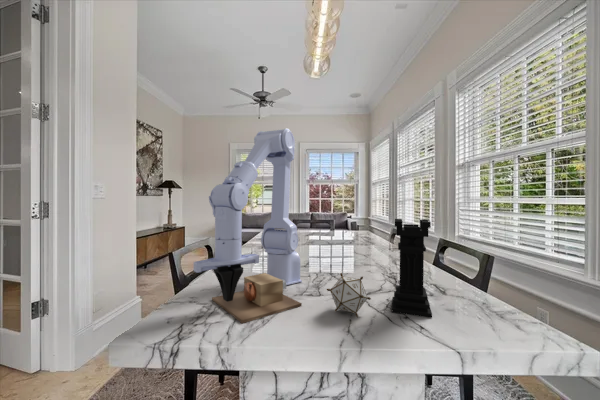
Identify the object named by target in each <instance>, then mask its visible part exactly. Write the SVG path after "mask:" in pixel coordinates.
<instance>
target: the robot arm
mask: <svg viewBox="0 0 600 400" xmlns="http://www.w3.org/2000/svg"><path fill="white" fill-rule="evenodd" d="M253 143H254V145H253V146H252V148H251V149H250V151H249V153H248V155H247V156H246V158H245V160H242V161H241V160H240V161H236V162H235V164H234V165H233V166H234V167H233V168H232V170H231V171H230V172H229V174H228V175H227V176H226V177H225V179H224V180H223V181H222V183H221V184H216V185H215V186H214V187H213V188H212V190H211V191H210V195H209V196H208V201H209V204H210V207H211V208H212V215H213V217H214V257H211V258H206V259H202V260H201V259H200V260H197V261H196V260H195V261H193V272H194V273H202V272H205V271H211V270H212V271H213V273H214V274H215V276H216V279H217V281H218V284H219V286H220V289H221V292H222V295H223V299H224V300H225V301H227V302H228V301H232V300H233V296H234V293H235V291H236V289H237V285H238V283H239V281H240V279H241V277H242V275H243V273H244V267H243V266H245V265H251V264H260V255H259V254H257V253H252V254H251V253H249V254H242V250H243V248H242V247H243V246H242V244H243V242H242V239H243V238H242V234H243V233H242V230H243V229H242V228H243V226H242V225H243V224H242V223H243V222H242V220H243V212H242V211H243V209H244V208H246V206H247V205H248V201H249V200H248V199H249V194H250V189H251V187H252V186H253V185H254V182H255V181H256V179H257V178H258V176H259V172H258V169H259V167H261V164H262V163H263V162H264V161H265V160H266V161H267V162H269V163H271V164H272V168H273V169H272V172H273V173H272V191H271V211H270V212H271V213H270V214H271V216H270V219H269V220H268V221H266V222H265V223H264V224H263V230H262V234H261V238H260V243H261V246H262V248H263V249H264V251H265V253H267V254H266V256H267V257H266V265H267V267H266V270H267V271H266V274H269V275H271V276H274V277H276V278H278V279H284V280H285V282H286V286H288V285H294V284H298V283H302V279H301V257H300V255H299V253H298V252H297V251H296V250H297V248H298V245H299V236H298V226H297V225H296V223H294V222H292V220H290V218H289V216H290V215H289V214H290V213H289V212H290V195H291V194H290V193H291V192H290V191H291V168H292V167H291V165H292V161H293V160H295V151H296V149H295V147H296V140H295V137H294V134H293V131H291V129H289V128H288V127H287V128H284V129H275V130H274V129H273V130H267V131H262V130H260V131H258V132H257V133H256V135H255V136H254V138H253Z"/></svg>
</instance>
